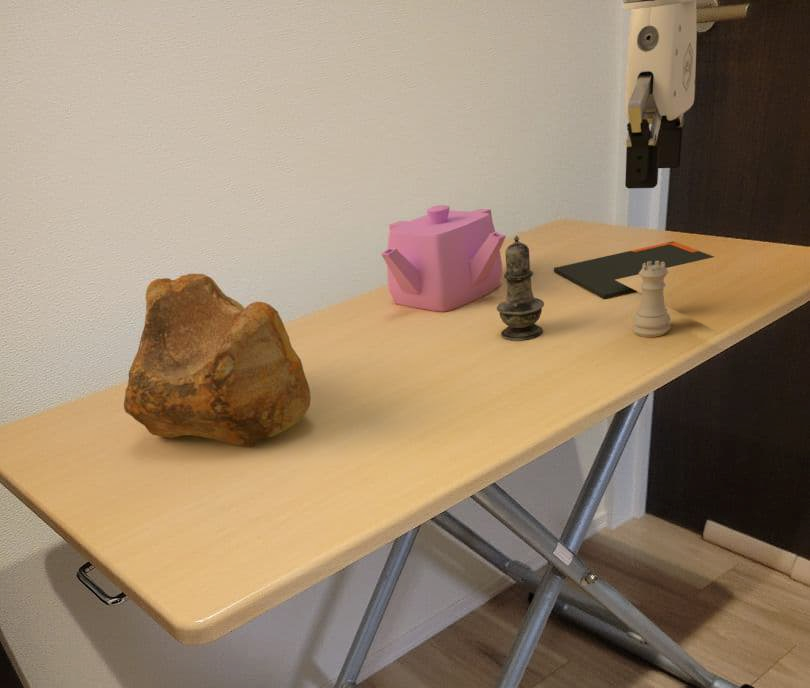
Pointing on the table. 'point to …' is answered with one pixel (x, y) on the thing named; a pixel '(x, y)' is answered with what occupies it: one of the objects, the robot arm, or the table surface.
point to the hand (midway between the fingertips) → (653, 177)
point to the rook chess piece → (652, 302)
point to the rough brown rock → (213, 366)
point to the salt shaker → (519, 296)
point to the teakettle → (443, 259)
